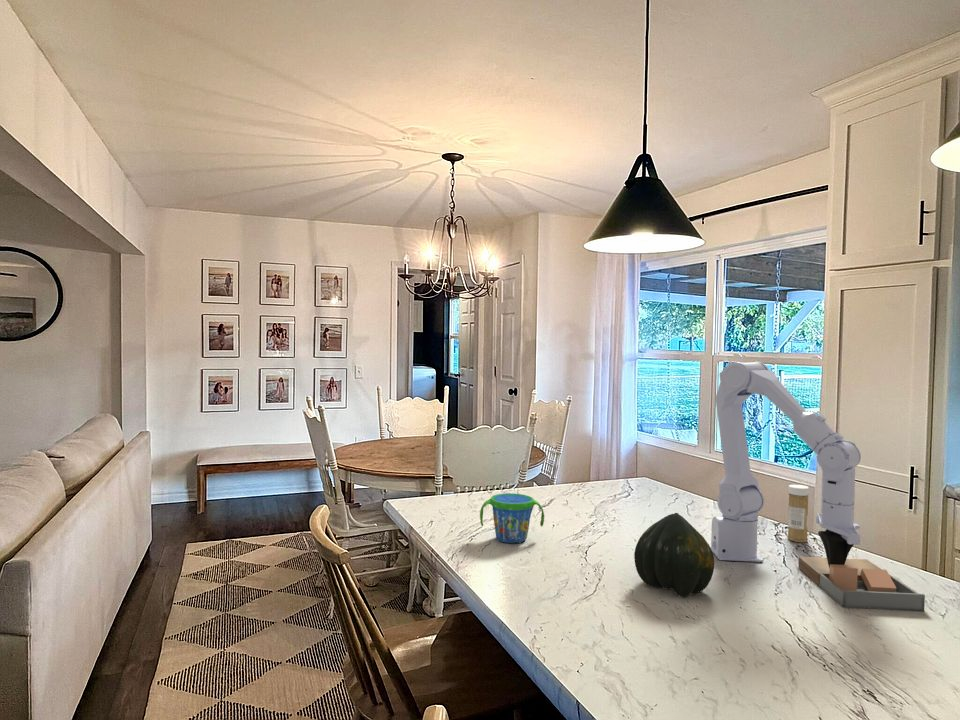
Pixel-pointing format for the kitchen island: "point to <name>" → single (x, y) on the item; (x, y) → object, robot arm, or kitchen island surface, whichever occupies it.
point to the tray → (875, 596)
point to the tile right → (877, 580)
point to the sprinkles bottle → (798, 513)
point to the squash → (674, 556)
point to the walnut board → (820, 566)
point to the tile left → (844, 576)
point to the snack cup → (511, 516)
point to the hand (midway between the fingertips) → (835, 569)
